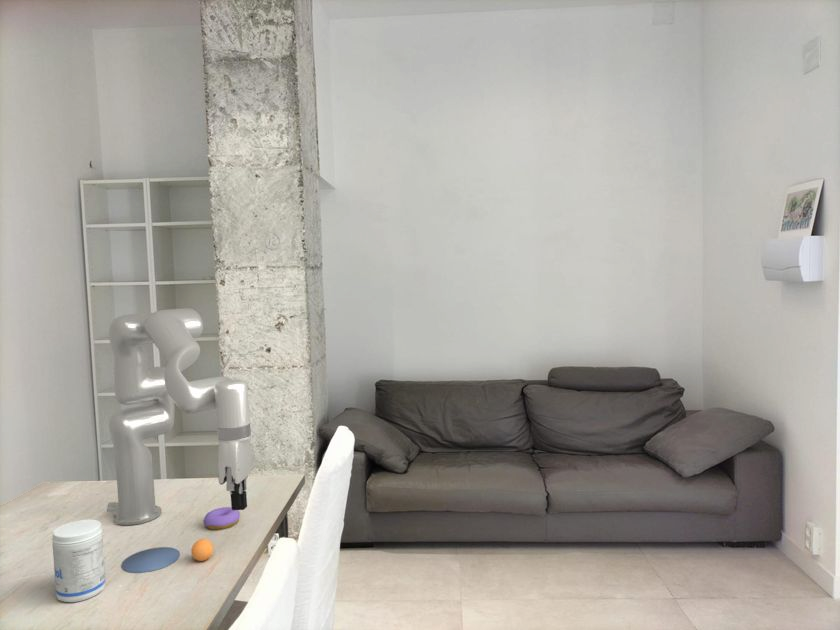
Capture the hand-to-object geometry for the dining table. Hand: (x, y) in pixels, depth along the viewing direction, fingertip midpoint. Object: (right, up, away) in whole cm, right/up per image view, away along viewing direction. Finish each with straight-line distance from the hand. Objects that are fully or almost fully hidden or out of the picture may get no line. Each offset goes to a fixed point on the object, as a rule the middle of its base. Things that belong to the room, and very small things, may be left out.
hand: (239, 508), depth 148 cm
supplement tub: (-31, -15, -12) cm, 36 cm away
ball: (-9, -10, +2) cm, 14 cm away
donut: (-12, -12, +24) cm, 29 cm away
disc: (-22, -13, +3) cm, 26 cm away
